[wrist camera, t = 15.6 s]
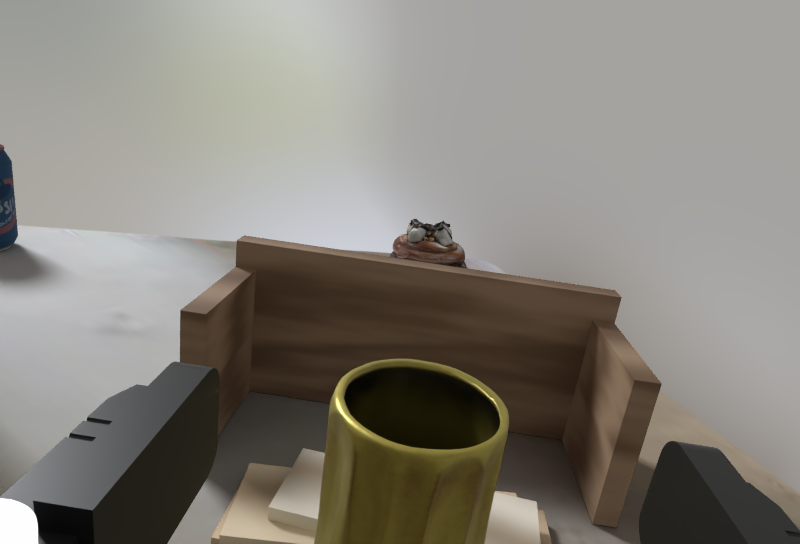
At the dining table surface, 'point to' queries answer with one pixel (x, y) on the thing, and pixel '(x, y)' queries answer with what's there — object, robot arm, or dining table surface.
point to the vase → (410, 456)
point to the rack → (427, 341)
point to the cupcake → (429, 245)
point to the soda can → (7, 203)
